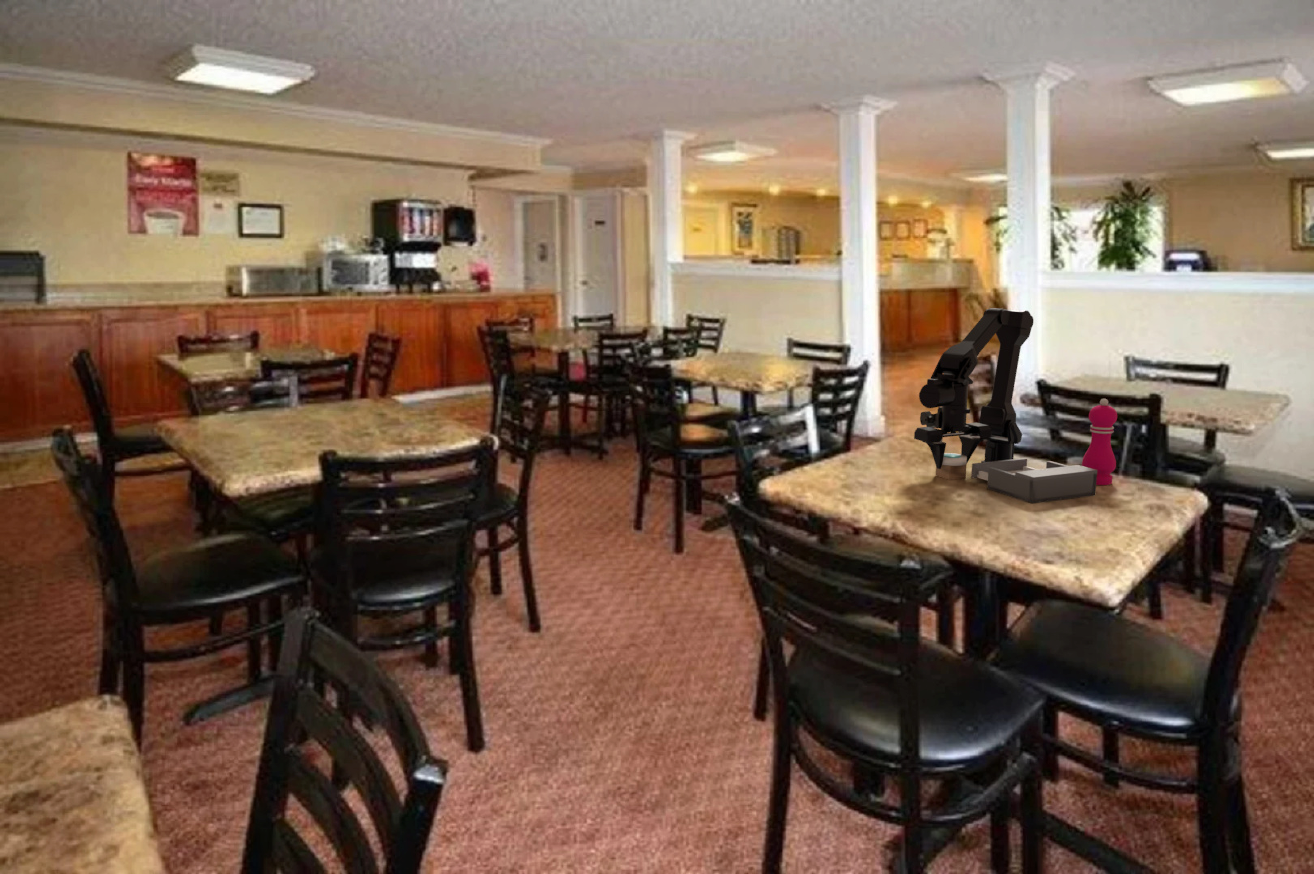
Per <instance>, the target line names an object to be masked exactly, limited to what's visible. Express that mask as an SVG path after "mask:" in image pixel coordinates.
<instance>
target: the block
mask: <svg viewBox="0 0 1314 874" xmlns="http://www.w3.org/2000/svg"><path fill="white" fill-rule="evenodd" d="M967 465H968V463H967V464H966V465H961V466H949V465H942V466H941V469H938V468H937V467H936V466H935V476H937V477H940V478H943V479H945V480H948V481H949V480H959V479H966V478H967Z"/></svg>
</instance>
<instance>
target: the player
mask: <svg viewBox="0 0 1314 874" xmlns="http://www.w3.org/2000/svg"><path fill="white" fill-rule="evenodd" d="M1045 465H1046V467H1045V468H1041V469H1040V468H1039V469H1038V468H1037V469H1038V470H1029V471H1020V472H1015V474H1013V473H1010V472H1006V471H1003V470H1000V469H996V468H993V467H990V468H989V470H988V481H987V488H986V489H987V490H990V491H994V492H996V493H999V494H1002V495H1005V496H1008V497H1011V498H1014V499H1016V500H1020V501H1023V502H1026V503H1030V504H1038V503H1044V502H1045V503H1046V502H1053V501H1060V500H1069V499H1076V498H1085V497H1092V496H1096V493H1097V492H1096V490H1097V489H1096V488H1097V485H1096V481H1097V470H1096V469H1092V468H1088V467H1084V466H1082V465H1079V464H1075V465H1067V464H1062V463H1059V462H1056V461H1055V462H1054V461H1051V460H1047V461H1046V464H1045Z"/></svg>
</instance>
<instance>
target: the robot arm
mask: <svg viewBox="0 0 1314 874" xmlns="http://www.w3.org/2000/svg"><path fill="white" fill-rule="evenodd" d="M1033 325H1034V317H1033V315H1032V314H1031V313H1030V311H1029V310H1021V309H1019V310H1018V309H1005V308H995V307H992V308H988V309H985V310H984V312H983V315H982V316H981V318H980V319H979V320H978V321H977V323H976V324H975V325H974V326H973V327H972V329H971V330H970V331H969V332H968V334H967V335H965V337H964V338H963V340H962V341H960V342H959V343H956V344H954V345H952V346H950V347H949V348H947V349H946V350H945V351H944V352H943V353H942V354H941V356H940V357H939V360H938V361H937V364H936V366H935V368H934V371H933V372H932V374H931V376H930V378H927V379H926V384H924V385H923V386H922V387H921V389H920V391H919V393H918V396H919V397H918V399H919V402H920V404H921V405H922V406H923V407H925V408H926V409H933V408H937V412H936V413H932V412H931V411H928V410H927V411H922V412H920V415H919V416H920V417H919V422H920V425H921V426H919V427H917V428H916V429H915V430H914V435H913V439H914V440H917V441H921V442H923V443H925V444H926V445H927V446H928V447H929V450H930V452H931V455H932V457H933V460H934V464H935V468H936V467H937V468H938V469H941V466H942V463H943V458H944V453H946V447H947V442H944V441H943V440H944V439H943V438H947V437H950V438H951V437H958V438H959V441H960V443H961V452H960V454H962V455H965V456H967V464H968V462H969V461H970V459H971V457H972V456H973V454H974V452H975V451H976V449H977V448H978V447H979V445H980V444H981V442H984V441H986V446H985V448H984V460H981V461H980V463H982V462H992V461H1001V460H1011V459H1014V456H1015V444H1016V445H1018V444H1020V443H1021V441H1022V437H1023V433H1022V431H1021V429H1020V427H1019V426H1018V424H1017V413H1016V410H1015V408H1014V406H1013V403H1012V402H1013V401H1012V400H1013V395H1014V390H1015V382H1016V377H1017V373H1018V372H1017V371H1018V366H1019V359H1020V355H1021V354H1020V353H1021V348H1022V346H1023V345H1024V344H1025V342H1026V341H1027V340H1028V339H1029V337H1030V336H1031V332H1032V328H1033ZM995 335H996V337H997V339H998V342H999V349H998V355H997V362H996V368H995V373H994V374H995V375H994V379H993V387H992V392H991V397H990V401H989V402H988V403H987V405H982V406H981V408H980V416H979V418H978V422H970V423H969V422H968V423H967V414H971V408H968V395H969V386H970V385H973V383H974V381H973V379H972V378H971V377H970V375H971V374H972V373H973V372H974V370H975V369H976V367H977V365H978V364H979V363H978V356H979V354H980V353H981V352H982V351H983V349H984V348H985V347H986V346H987V344H989V342H990V341H991V339H992V338H994V336H995ZM922 426H923V427H922Z"/></svg>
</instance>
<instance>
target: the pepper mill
mask: <svg viewBox="0 0 1314 874" xmlns="http://www.w3.org/2000/svg"><path fill="white" fill-rule="evenodd" d="M1099 404H1100V405H1096V406H1093V407H1092V408H1091V409H1090V410H1089V413H1088V419H1089V420H1088V421H1090V423H1091V424H1090V426H1089V427H1090V429H1089V432H1091V439H1090V443H1089V447H1088V449H1087V450H1086V451H1085V454H1084V455H1083V457H1082V461H1081V466H1084V467H1088V468H1092V469H1096V470H1097V481H1096V486H1109V485H1112V483H1113V475H1112V474H1111V473H1113V472H1114V471H1115V469H1116V468H1117V460H1116V457H1115V454H1114V452H1113V448H1112V445H1111V444H1112V443H1111V439H1112V438H1111V437H1112V434H1113V433H1114V432H1115V431H1114V429H1115V427H1114V426H1113V425H1114V424H1116V422H1117V419H1118V412H1117V410H1116V409H1115V408H1113V407H1112V406H1111V405H1109V400H1108V399H1106V398H1101V399H1100V401H1099Z"/></svg>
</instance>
